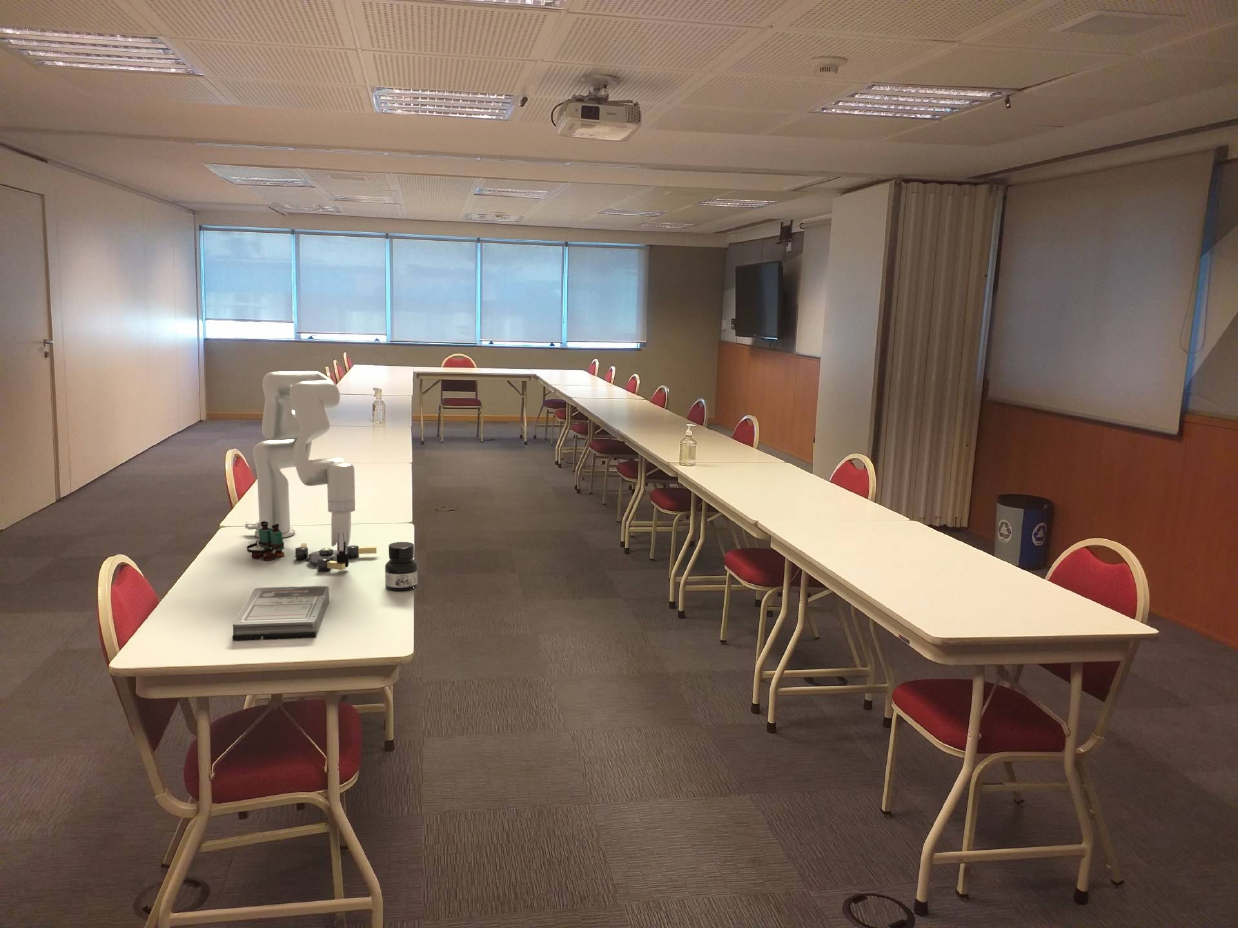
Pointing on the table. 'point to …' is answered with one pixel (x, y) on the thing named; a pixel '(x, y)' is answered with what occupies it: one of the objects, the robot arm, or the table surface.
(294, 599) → the hard drive
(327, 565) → the knob
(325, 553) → the tribrach plate
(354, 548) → the knob
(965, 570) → the table surface
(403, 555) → the ink bottle
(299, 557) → the knob
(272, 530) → the binoculars
